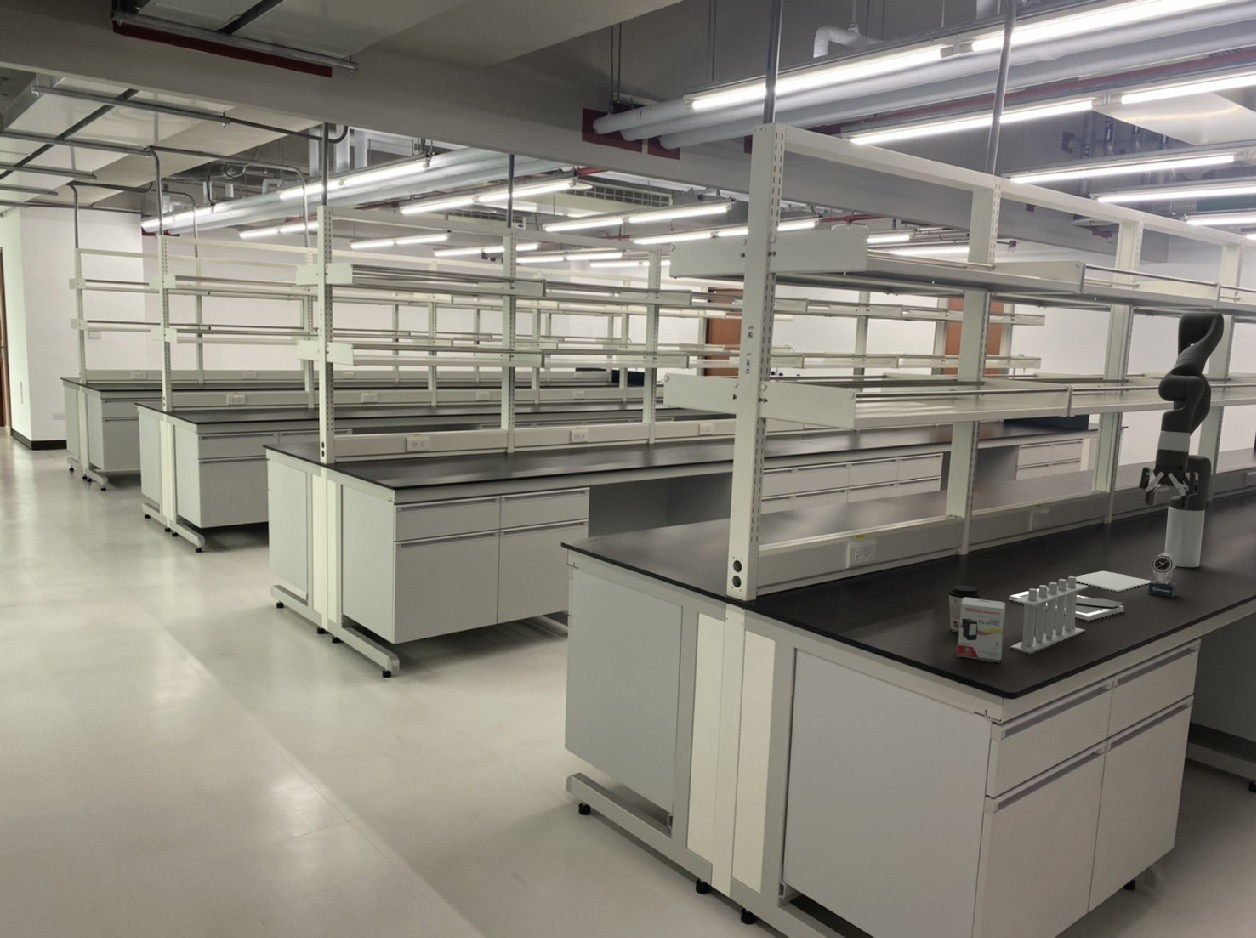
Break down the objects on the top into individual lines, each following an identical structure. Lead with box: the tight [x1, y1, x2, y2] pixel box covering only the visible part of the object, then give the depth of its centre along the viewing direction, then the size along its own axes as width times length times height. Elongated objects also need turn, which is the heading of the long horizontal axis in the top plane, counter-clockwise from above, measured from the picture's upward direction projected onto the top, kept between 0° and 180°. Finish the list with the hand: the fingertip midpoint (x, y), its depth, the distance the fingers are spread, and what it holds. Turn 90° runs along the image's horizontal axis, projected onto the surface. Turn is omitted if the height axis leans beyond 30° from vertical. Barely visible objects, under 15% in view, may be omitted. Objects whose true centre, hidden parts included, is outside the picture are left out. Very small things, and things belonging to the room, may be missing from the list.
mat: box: [1075, 570, 1152, 593], centre depth 251 cm, size 18×14×1 cm
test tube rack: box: [1009, 575, 1089, 653], centre depth 198 cm, size 25×4×13 cm, turn 129°
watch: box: [1148, 552, 1178, 599], centre depth 237 cm, size 6×8×11 cm
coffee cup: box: [947, 584, 981, 631], centre depth 204 cm, size 7×7×10 cm
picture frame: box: [1008, 587, 1124, 622], centre depth 226 cm, size 16×3×21 cm
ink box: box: [956, 598, 1006, 661], centre depth 187 cm, size 9×5×12 cm, turn 66°
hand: (1165, 507), depth 247 cm, fingers open, 8 cm apart
